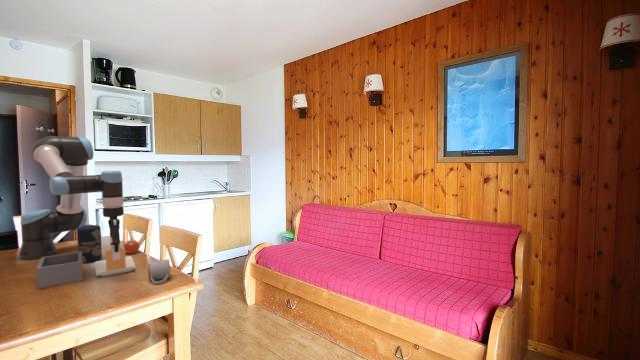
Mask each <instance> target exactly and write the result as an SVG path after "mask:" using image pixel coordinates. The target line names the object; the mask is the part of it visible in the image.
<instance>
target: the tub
mask: <svg viewBox="0 0 640 360" xmlns="http://www.w3.org/2000/svg"><path fill="white" fill-rule="evenodd" d="M83 263H84V262H82V252H78V251H76V252H69V253H61V254H55V255H52V256H47V257H41V258H40V260H39V262H38V264H37V266H36V269H35V271H36V286H37V289H44V288H49V287H55V286H61V285H67V284H72V283H73V284H74V283H77V282H82V281H83V279H84V278H83V276H84V264H83Z"/></svg>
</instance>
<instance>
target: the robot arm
mask: <svg viewBox="0 0 640 360" xmlns="http://www.w3.org/2000/svg"><path fill="white" fill-rule="evenodd" d="M31 155H32V157H33V159H34V160H35V161H36V162H37V163H39V164H41V166H42V168H43V169H44V170H45V172H46V174H47V175H48V176H49V181H48V187H49V192H50V193H51V195H52V196H53V195H54V196H60V204H59V205H57V206H56V209H55V210H54V211H51V209H47V208H44V209H37V210H33V211H29V212H25V213H23V214H22V215H21V216H20V226H21V227H20V228H21V246H20V249H19V251H18V259H19V260H22V261H28V260H37V259H41V257H47V256H54V255H57V253H58V248H57V246H56V244H55V242H54V240H53V234H58V233H65V232H70V231H71V232H72V231H77V229H78V228H79V227H82V226H84V225H87V224H86V223H87V218H88V215H87V210H86V209H85V208H84V207H83V205H82V204H81V199H82V198H81V197H82V194H89V193H90V194H91V193H101V197H102V199H101V200H100V203H102V207H103V208H102V215H103V217H104V218H109V219H108V220H107V221H108V222H107V223H108V228H109V237H110V239H109V240H110V249H112V252H113V260H117V259H121V257H120V248H121V237H120V223H121V222H120V219H119V218H118V217H121V216H123V215H124V214H125V212H124V211H125V210H124V209H125V208H124V207H123V205H124V195H123V189H124V188H123V175H122V171H120V170H105V171H104V170H102V171H101V173H100V174H96V175H94V174H91V175H84V171H85V170H84V169H85V167H86V166H87V165H88V164H89V163H88V162H89V161H90V160H93V159H94V149H93V145H92V142H91V141H90V139H88V138H87V137H84V136H83V137H82V136H81V137H80V136H61V135H60V136H59V135H56V136H55V135H49V136H45V137H42V138H41V139H39V140H37V141H36V142H35V143H34V144H33V146H32V148H31Z"/></svg>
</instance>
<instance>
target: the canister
mask: <svg viewBox="0 0 640 360" xmlns="http://www.w3.org/2000/svg"><path fill="white" fill-rule="evenodd" d="M101 230H102V229H101V226H100V225H98V224H88V223H87V224H85V225H84V226H82V227H79V228H78V229H77V230H76V237H77V238H76V239H77V252H82V262H83V263H90V262H91V263H92V262H96V261H100V259H101V258H103V253H102V252H103V251H102V249H103V248H102V231H101Z"/></svg>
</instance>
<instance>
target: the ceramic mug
mask: <svg viewBox="0 0 640 360" xmlns="http://www.w3.org/2000/svg"><path fill="white" fill-rule="evenodd" d="M170 267H171V266H170V259H168V258H167V259H163V260H159V261H153V262H151V263H150V262H149V263H148V264H147V275H148V277H147V278H148V280H149V281H151V283H152V284H154V285H161V284H163V283H165V282H167V279H170V278H171V268H170Z"/></svg>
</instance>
